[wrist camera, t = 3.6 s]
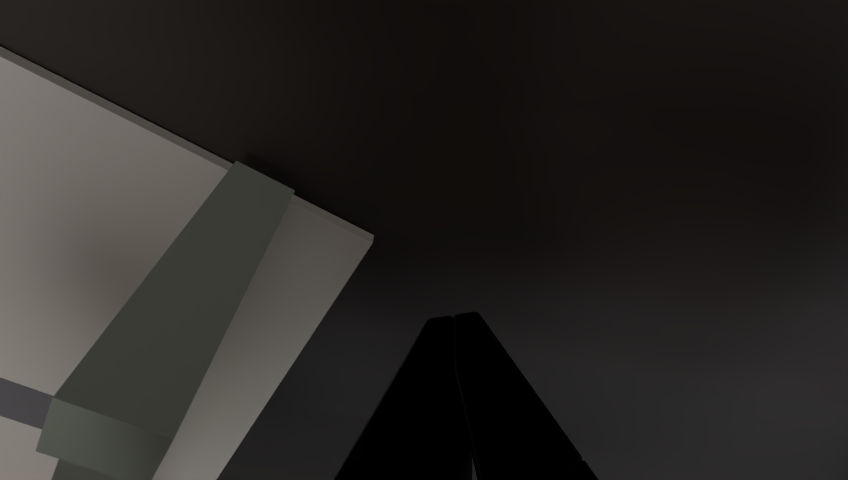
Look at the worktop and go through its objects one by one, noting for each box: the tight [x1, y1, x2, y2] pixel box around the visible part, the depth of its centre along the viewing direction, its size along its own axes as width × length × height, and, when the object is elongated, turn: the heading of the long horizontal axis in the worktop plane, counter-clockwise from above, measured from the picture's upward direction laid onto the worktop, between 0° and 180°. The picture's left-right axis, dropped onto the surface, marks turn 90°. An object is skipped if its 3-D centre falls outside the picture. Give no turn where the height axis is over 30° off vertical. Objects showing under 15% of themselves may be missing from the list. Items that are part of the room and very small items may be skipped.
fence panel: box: [36, 161, 295, 480], centre depth 10 cm, size 9×1×6 cm, turn 149°
